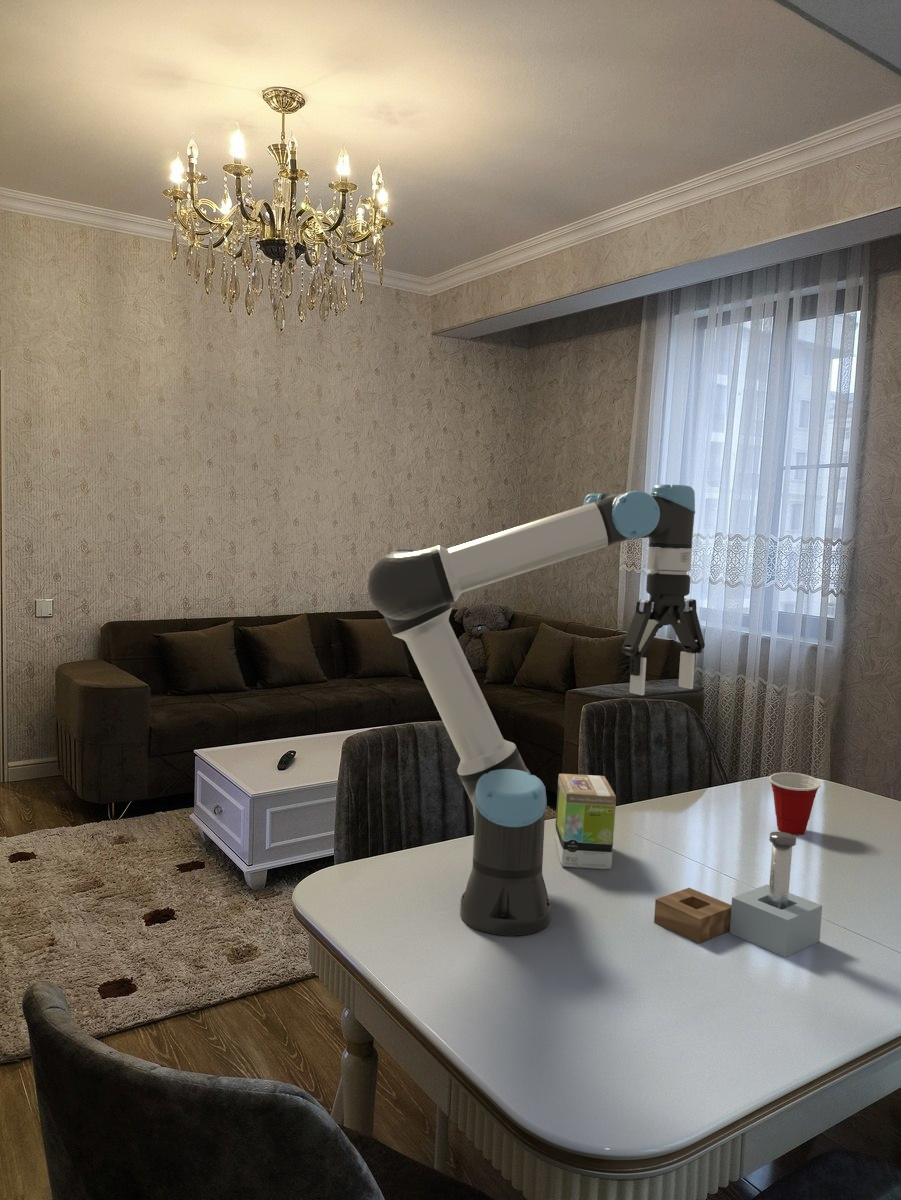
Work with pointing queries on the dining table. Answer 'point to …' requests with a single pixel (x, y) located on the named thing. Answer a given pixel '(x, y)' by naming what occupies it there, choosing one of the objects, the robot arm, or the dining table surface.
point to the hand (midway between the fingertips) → (661, 690)
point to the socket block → (775, 922)
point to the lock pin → (780, 868)
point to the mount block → (693, 914)
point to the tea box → (585, 821)
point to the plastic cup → (793, 800)
